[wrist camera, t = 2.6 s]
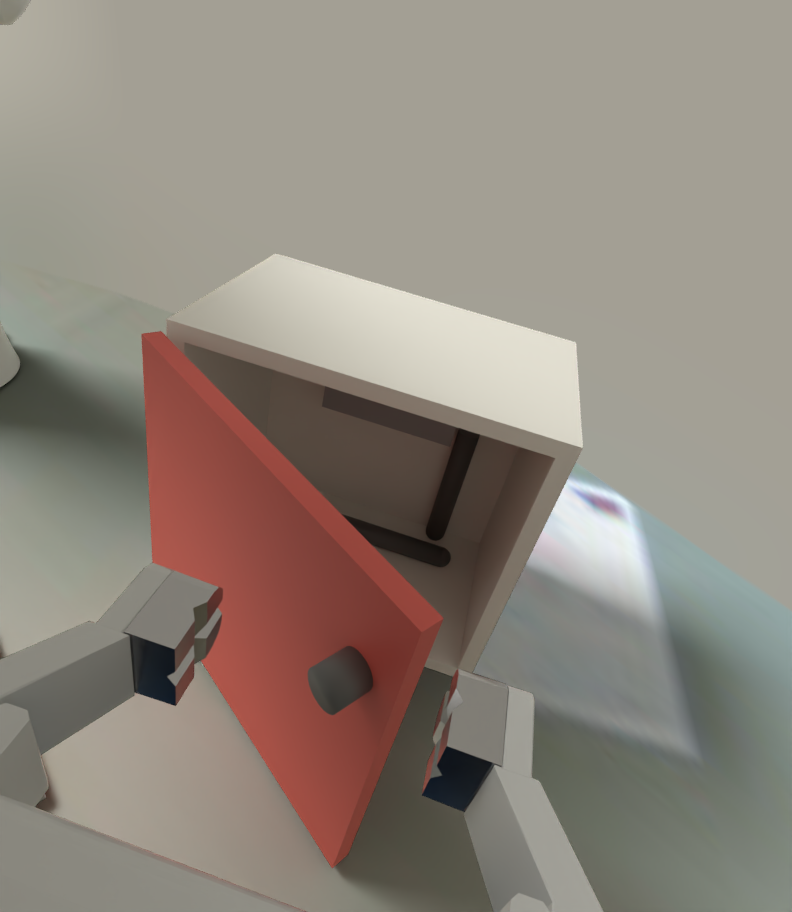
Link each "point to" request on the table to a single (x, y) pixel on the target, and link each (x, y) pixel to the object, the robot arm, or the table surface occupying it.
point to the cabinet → (402, 424)
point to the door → (283, 599)
